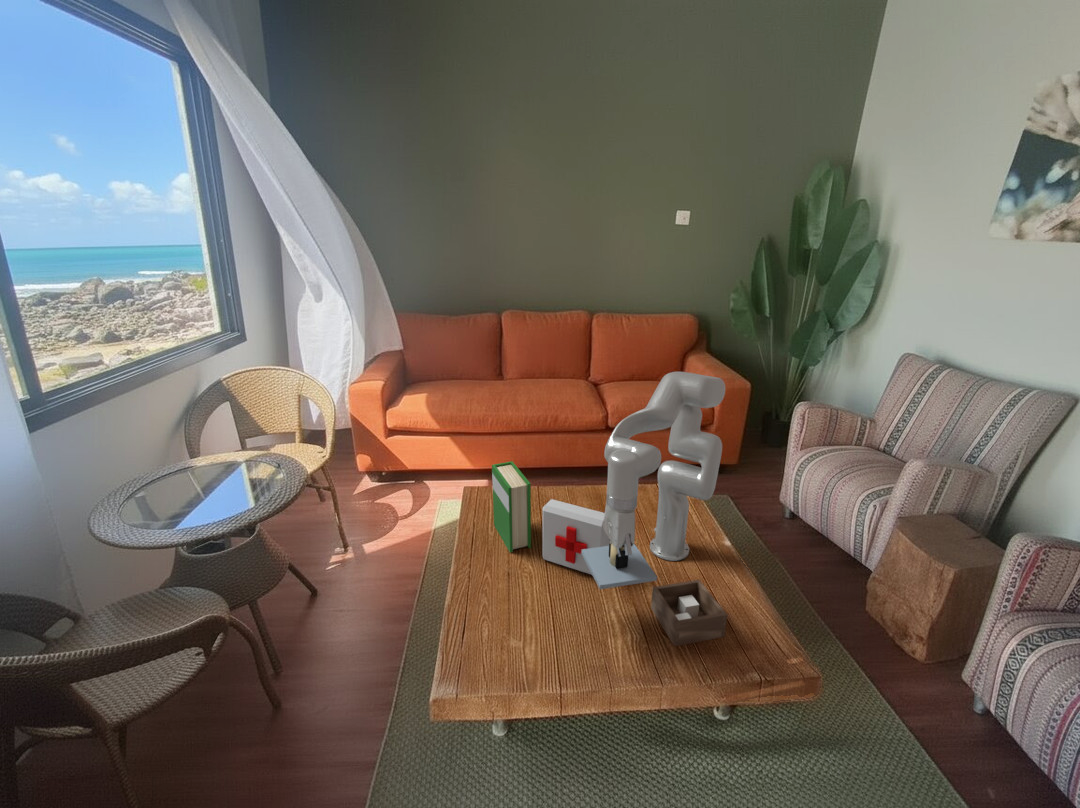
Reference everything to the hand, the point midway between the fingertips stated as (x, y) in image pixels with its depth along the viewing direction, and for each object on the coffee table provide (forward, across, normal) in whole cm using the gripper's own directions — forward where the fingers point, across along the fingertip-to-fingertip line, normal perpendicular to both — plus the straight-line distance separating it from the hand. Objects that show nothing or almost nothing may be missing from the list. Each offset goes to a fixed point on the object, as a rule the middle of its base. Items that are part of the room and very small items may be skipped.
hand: (617, 561), depth 133 cm
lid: (+2, 0, 0) cm, 2 cm away
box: (+19, +6, +18) cm, 27 cm away
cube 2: (+18, +9, +16) cm, 26 cm away
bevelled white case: (+19, -25, -4) cm, 32 cm away
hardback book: (+19, -46, -20) cm, 53 cm away
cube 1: (+18, +3, +20) cm, 27 cm away
